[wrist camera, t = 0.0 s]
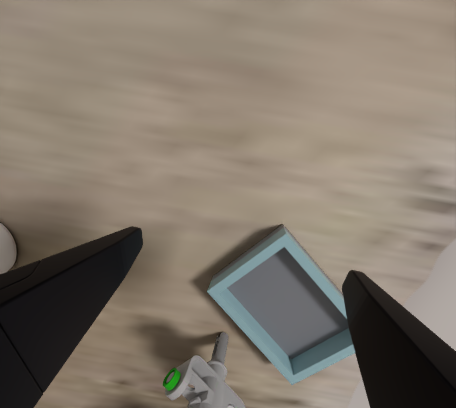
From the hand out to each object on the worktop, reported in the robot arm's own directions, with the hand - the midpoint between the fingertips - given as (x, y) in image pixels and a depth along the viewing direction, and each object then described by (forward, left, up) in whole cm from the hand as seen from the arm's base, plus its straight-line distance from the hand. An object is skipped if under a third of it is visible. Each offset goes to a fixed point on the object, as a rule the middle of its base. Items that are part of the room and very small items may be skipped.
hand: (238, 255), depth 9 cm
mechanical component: (-15, -12, -16) cm, 25 cm away
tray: (-5, -12, -15) cm, 20 cm away
